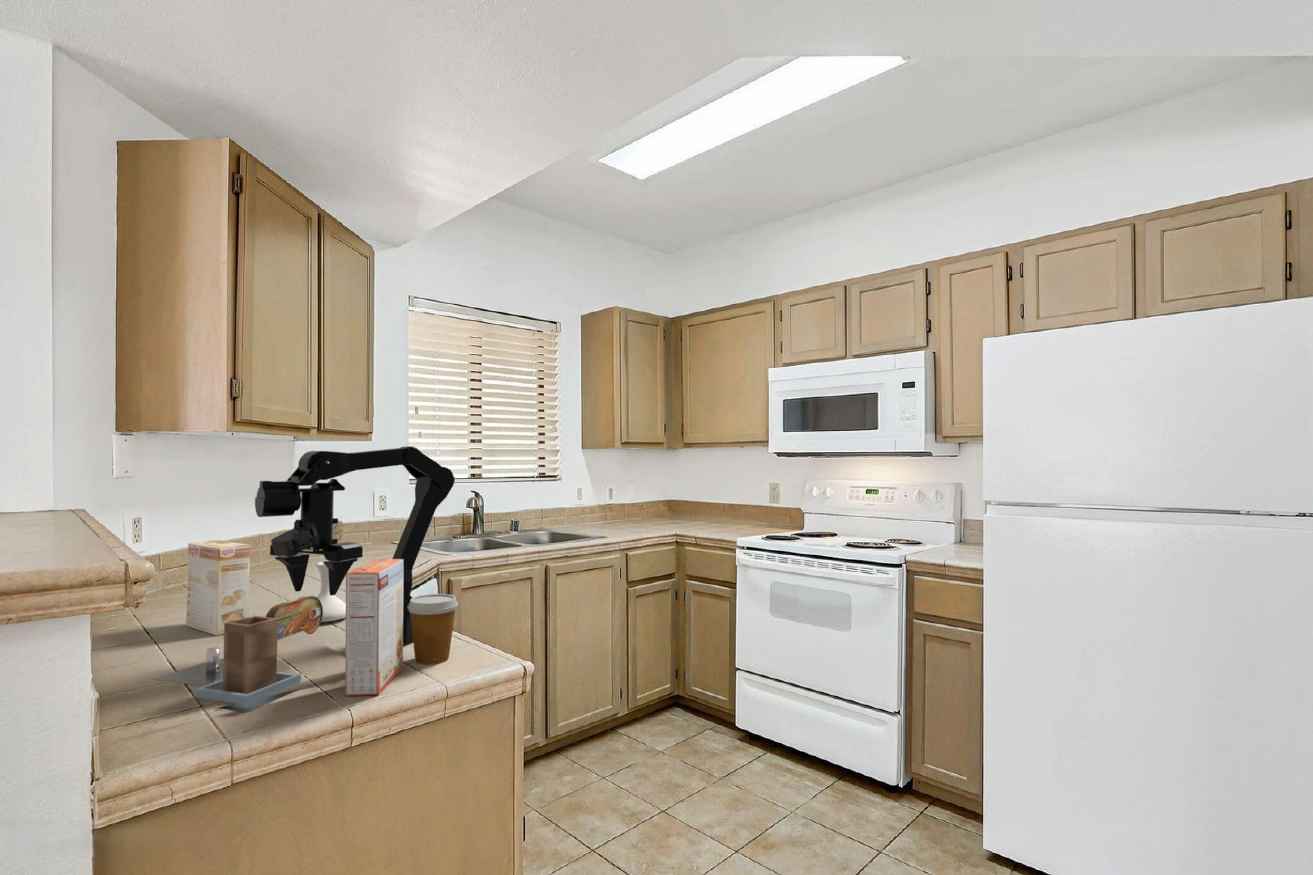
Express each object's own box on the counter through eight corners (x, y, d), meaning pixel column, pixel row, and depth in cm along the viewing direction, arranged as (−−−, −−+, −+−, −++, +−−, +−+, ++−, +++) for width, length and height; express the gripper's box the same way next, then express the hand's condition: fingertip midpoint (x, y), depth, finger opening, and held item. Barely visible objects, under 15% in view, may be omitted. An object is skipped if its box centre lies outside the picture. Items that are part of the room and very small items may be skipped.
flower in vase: (289, 621, 157) (291, 517, 157) (335, 611, 166) (337, 514, 167) (317, 630, 149) (320, 520, 150) (364, 619, 158) (366, 517, 159)
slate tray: (300, 689, 112) (300, 674, 112) (246, 712, 102) (246, 696, 102) (252, 682, 115) (252, 668, 115) (194, 704, 105) (195, 689, 105)
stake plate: (267, 670, 121) (267, 642, 121) (206, 693, 110) (207, 662, 110) (217, 664, 124) (218, 637, 125) (153, 685, 113) (154, 655, 113)
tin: (273, 648, 135) (274, 607, 135) (260, 647, 136) (261, 606, 136) (323, 629, 150) (324, 592, 150) (312, 628, 151) (312, 591, 151)
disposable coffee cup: (466, 655, 132) (467, 595, 132) (436, 669, 123) (437, 605, 123) (428, 650, 135) (429, 591, 135) (395, 663, 126) (396, 601, 126)
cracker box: (371, 669, 122) (373, 558, 123) (404, 668, 123) (406, 558, 124) (341, 697, 109) (344, 571, 109) (378, 696, 109) (381, 571, 110)
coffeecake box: (249, 629, 149) (251, 544, 150) (215, 636, 143) (217, 547, 144) (218, 619, 157) (220, 539, 158) (184, 626, 151) (186, 542, 152)
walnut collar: (253, 685, 112) (254, 615, 112) (276, 689, 110) (277, 618, 110) (222, 696, 107) (224, 623, 107) (246, 701, 105) (248, 626, 105)
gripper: (245, 515, 125) (243, 597, 124) (317, 519, 118) (315, 606, 117) (296, 510, 135) (294, 586, 134) (365, 514, 128) (363, 594, 128)
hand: (315, 593), depth 128 cm, fingers open, 9 cm apart
